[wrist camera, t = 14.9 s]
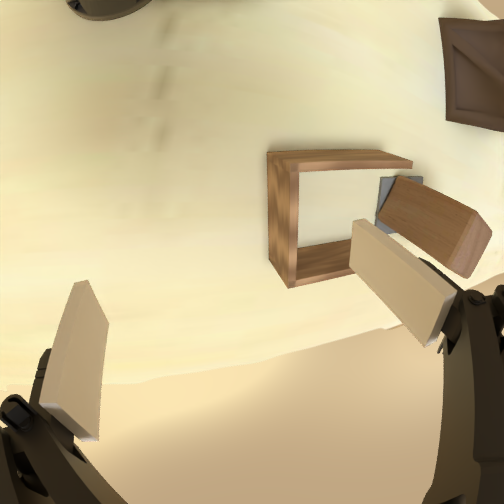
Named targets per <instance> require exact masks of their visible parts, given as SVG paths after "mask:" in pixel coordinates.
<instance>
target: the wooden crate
mask: <svg viewBox="0 0 504 504" xmlns="http://www.w3.org/2000/svg"><path fill="white" fill-rule="evenodd" d="M438 19H439V25H440V32H441V39H442V47H443V57H444V70H445V90H446V120H447V121H452V122H457V123H461V124H466V125H472V126H477V127H481V128H486V129H490V130H494V131H499V132H504V19H501V20H491V21H480V20H470V19H457V18H438Z"/></svg>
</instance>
